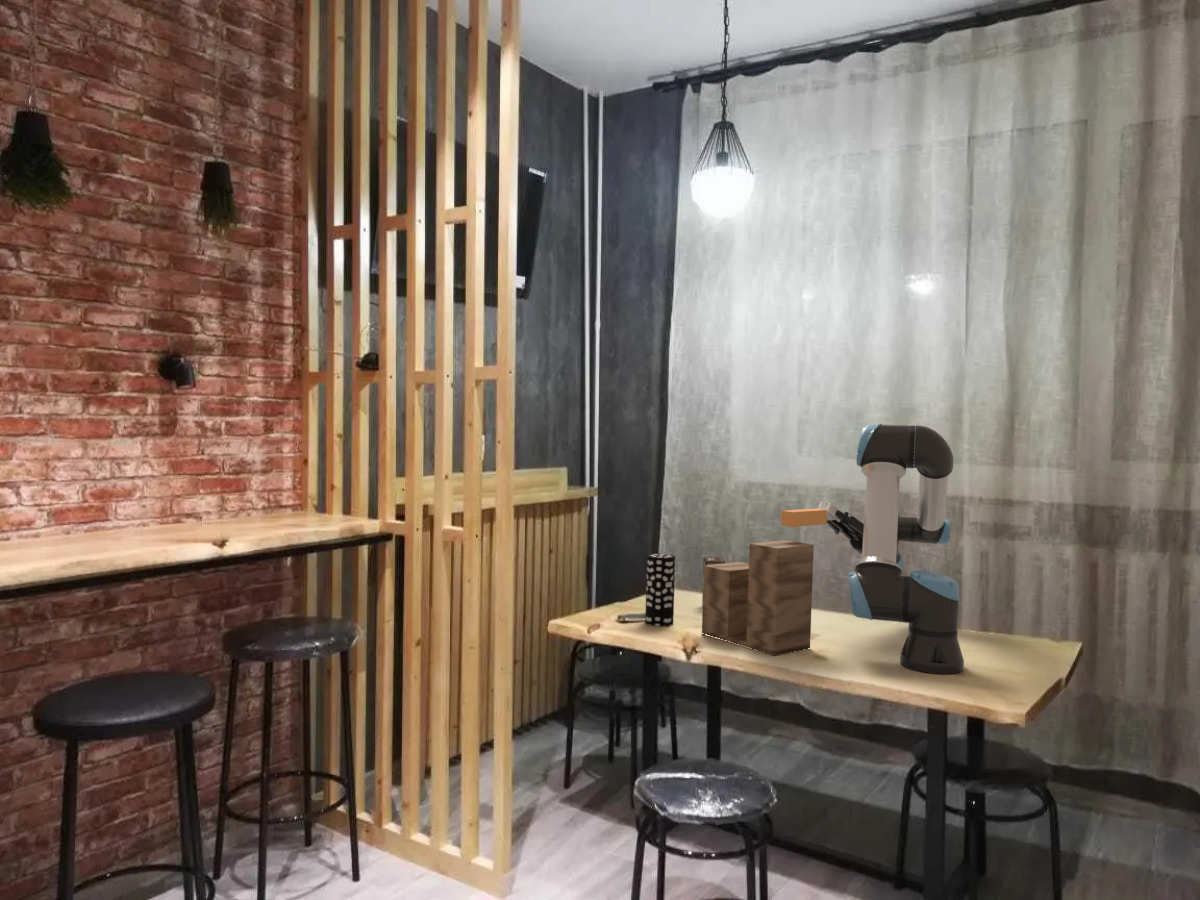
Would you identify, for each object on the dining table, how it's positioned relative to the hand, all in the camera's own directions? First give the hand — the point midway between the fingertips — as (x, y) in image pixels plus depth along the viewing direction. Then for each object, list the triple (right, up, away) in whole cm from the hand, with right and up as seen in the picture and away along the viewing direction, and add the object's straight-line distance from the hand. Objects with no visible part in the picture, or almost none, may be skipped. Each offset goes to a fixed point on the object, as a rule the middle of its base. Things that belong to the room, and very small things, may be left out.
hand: (824, 506), depth 257 cm
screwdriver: (-3, -5, -2) cm, 6 cm away
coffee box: (-27, -35, +36) cm, 57 cm away
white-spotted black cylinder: (-45, -36, +14) cm, 59 cm away
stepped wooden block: (-20, -37, -5) cm, 42 cm away
